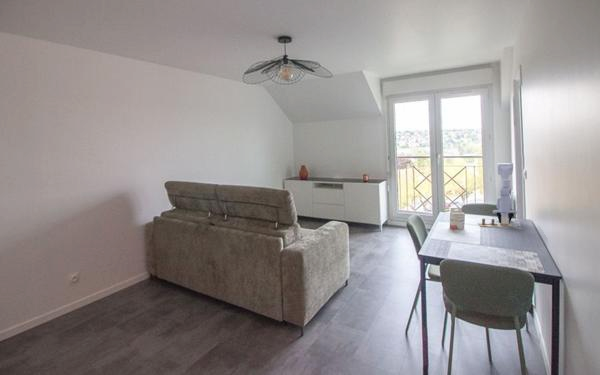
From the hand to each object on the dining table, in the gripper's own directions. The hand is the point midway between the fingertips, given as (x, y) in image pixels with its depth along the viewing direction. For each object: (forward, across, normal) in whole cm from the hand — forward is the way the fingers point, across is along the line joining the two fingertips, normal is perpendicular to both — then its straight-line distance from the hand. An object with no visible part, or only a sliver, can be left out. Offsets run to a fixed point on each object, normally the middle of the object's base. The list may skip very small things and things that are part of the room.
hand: (504, 223), depth 236 cm
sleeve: (+1, 0, 0) cm, 1 cm away
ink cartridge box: (+2, -33, -15) cm, 36 cm away
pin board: (+2, -11, -3) cm, 12 cm away
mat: (+2, 0, 0) cm, 2 cm away
